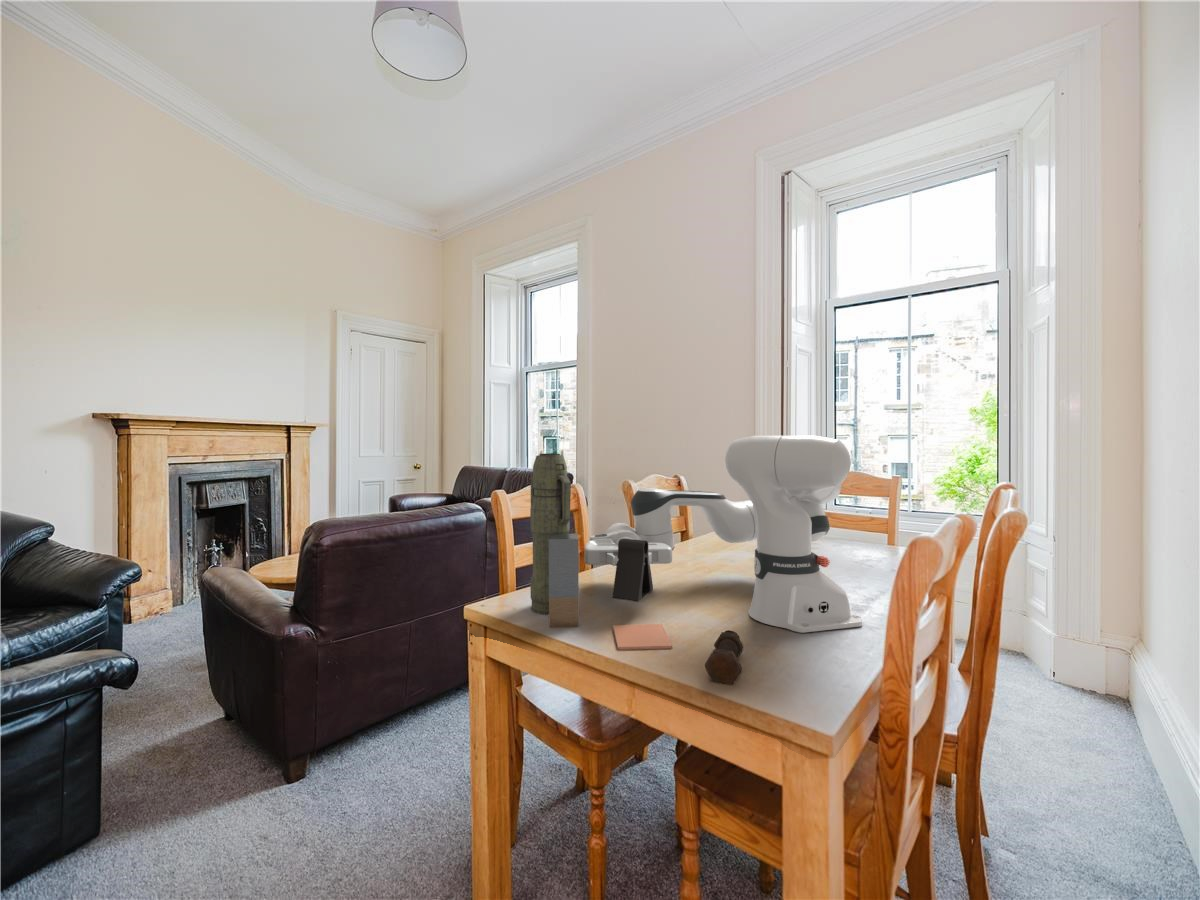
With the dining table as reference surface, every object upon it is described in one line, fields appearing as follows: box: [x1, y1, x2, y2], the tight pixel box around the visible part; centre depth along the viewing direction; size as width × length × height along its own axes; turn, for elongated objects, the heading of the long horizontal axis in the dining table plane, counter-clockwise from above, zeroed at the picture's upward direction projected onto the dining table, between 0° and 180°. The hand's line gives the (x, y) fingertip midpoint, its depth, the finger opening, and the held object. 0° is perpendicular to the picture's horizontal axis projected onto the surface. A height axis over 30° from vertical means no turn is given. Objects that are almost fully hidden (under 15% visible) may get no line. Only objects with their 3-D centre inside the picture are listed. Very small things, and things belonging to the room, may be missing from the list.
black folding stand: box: [612, 539, 654, 603], centre depth 114 cm, size 9×6×12 cm, turn 153°
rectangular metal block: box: [548, 533, 581, 628], centre depth 109 cm, size 6×6×18 cm
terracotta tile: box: [612, 623, 673, 651], centre depth 101 cm, size 10×11×1 cm
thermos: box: [529, 453, 572, 616], centre depth 117 cm, size 9×12×35 cm
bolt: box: [704, 629, 744, 686], centre depth 89 cm, size 6×5×15 cm
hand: (631, 561), depth 114 cm, fingers closed on black folding stand, 5 cm apart
